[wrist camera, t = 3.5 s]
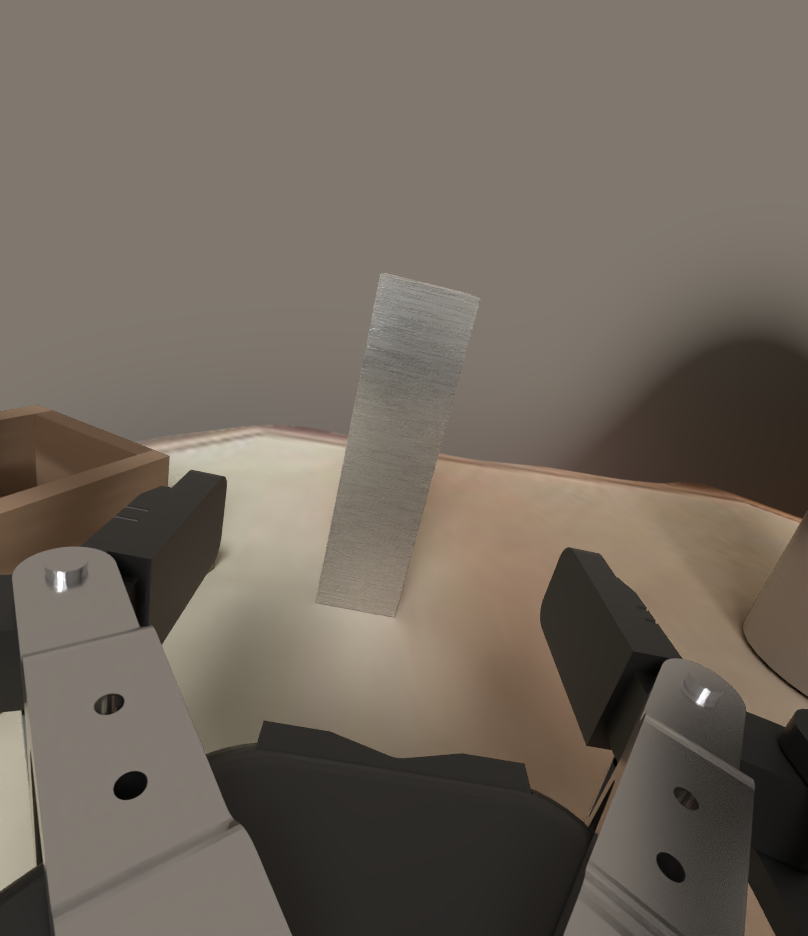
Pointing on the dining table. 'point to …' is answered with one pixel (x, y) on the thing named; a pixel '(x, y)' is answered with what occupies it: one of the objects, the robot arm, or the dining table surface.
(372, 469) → the grey rectangular block
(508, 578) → the dining table surface
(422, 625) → the dining table surface
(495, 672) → the dining table surface
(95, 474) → the wooden socket base
